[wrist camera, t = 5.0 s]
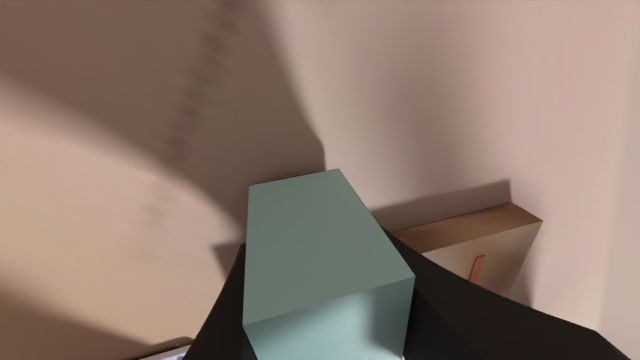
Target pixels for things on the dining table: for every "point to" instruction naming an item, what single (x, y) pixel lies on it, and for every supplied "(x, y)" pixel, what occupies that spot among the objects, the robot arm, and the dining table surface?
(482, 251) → the walnut board
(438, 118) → the dining table surface
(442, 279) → the robot arm
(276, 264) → the tall pale teal cuboid
